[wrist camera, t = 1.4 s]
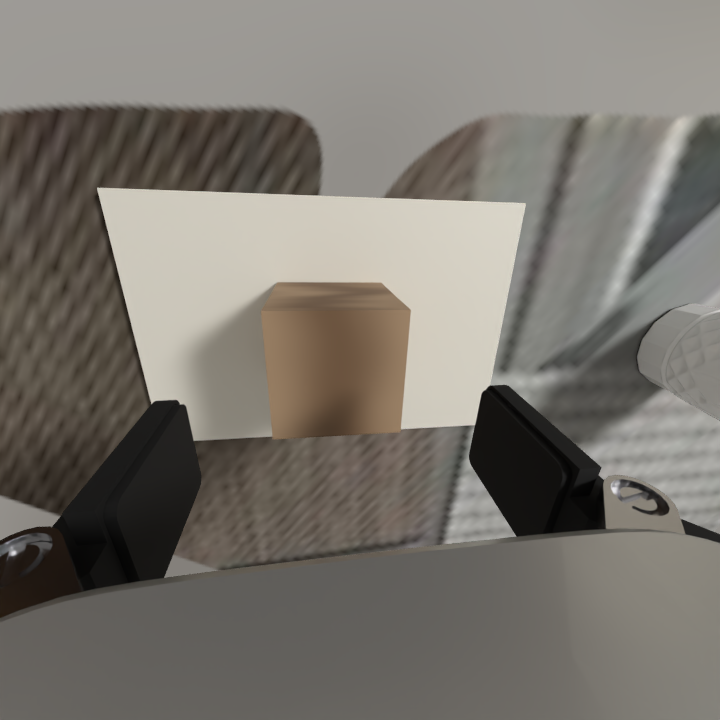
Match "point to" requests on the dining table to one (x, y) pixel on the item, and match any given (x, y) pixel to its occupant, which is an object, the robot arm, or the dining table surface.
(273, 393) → the walnut block
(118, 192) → the board
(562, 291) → the dining table surface
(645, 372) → the white cup
